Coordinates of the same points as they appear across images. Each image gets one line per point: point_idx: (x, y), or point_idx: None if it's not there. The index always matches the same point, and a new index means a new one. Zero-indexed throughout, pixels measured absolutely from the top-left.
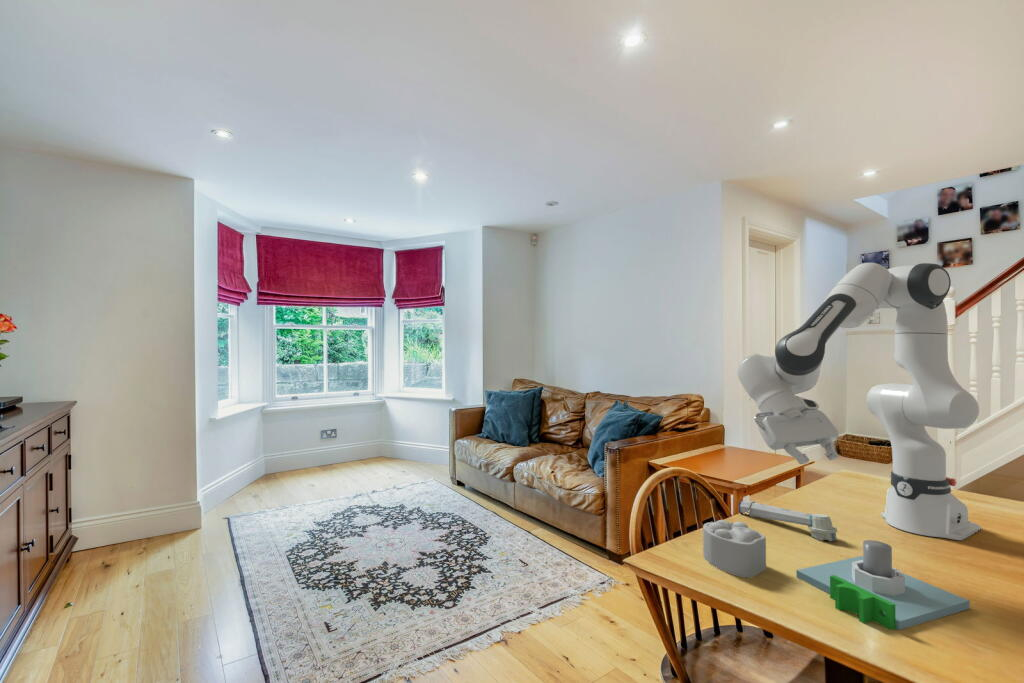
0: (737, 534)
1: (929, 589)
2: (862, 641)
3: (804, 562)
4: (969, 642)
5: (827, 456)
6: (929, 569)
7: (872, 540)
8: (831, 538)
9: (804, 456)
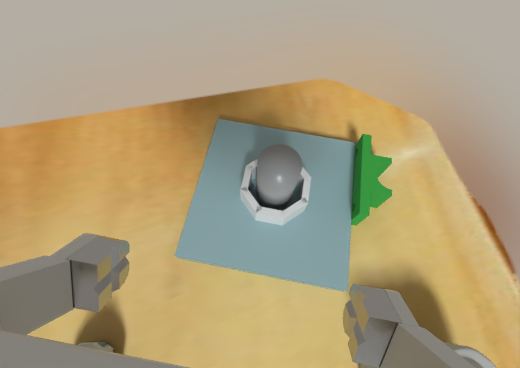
0: None
1: (226, 151)
2: (414, 159)
3: (270, 319)
4: (306, 106)
5: (112, 289)
6: (116, 186)
7: (263, 176)
8: (106, 346)
9: (387, 305)
